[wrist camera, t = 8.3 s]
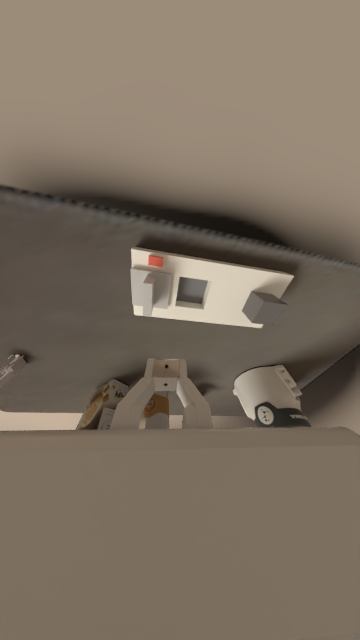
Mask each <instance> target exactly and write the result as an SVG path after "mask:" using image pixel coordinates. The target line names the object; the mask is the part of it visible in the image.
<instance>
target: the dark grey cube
mask: <svg viewBox="0 0 360 640" xmlns="http://www.w3.org/2000/svg"><path fill="white" fill-rule="evenodd" d="M287 305H288V304H286V303H285V302H283V301H282V300H280V299H279V298H277V297H276V296H274V295H273V294H268V293H261V292H254V291H251V293H250V295H249V297H248V299H247V301H246V303H245V305H244V307H243V309H242V312H243V313H244V314H245V315H246V317H247V318H248V319H249V320H250V321H251V323H255V324H265V325H274V324H275V323H276V321H277V320H278V318H279V317H280V316H281V314H282V313H283V311H284V310H285V308H286V307H287Z"/></svg>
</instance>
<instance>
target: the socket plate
mask: <svg viewBox="0 0 360 640" xmlns="http://www.w3.org/2000/svg"><path fill="white" fill-rule="evenodd" d="M131 254H132V268H136V269H143V270H150V271H157V272H163V273H170V274H172V277H171V285H170V293H169V301H168V309H163V308H154V307H153V311H152V315H151V316H150V317H160V318H170V319H179V320H189V321H198V322H208V323H217V324H227V325H237V326H246V327H256V328H261V327H262V326H263V324H255V323H251V321H250V320H249V319H248V318H247V317H246V315H245V314H244V313H243V312H242V309H243V307H244V305H245V303H246V301H247V299H248V297H249V295H250V293H251V291H254V292H261V293H268V294H273V295H274V296H276V297H277V298H279V299H280V298H281V296H282V294H283V293H284V291H285V290H286V288H287V287H288V285H289V284H290V282H291V280H292V279H293V277H294V276H293V275H291V274H288V273H286V272H281V271H276V270H270V269H264V268H258V267H252V266H246V265H240V264H234V263H228V262H222V261H216V260H210V259H204V258H198V257H192V256H186V255H180V254H174V253H168V252H163V251H157V250H151V249H145V248H139V247H134V248H132V249H131ZM207 281H208V282H207ZM206 285H207V286H206ZM205 288H206V289H205ZM204 292H205V293H204ZM202 299H203V300H202ZM134 315H141V316H143V306H136V305H134Z"/></svg>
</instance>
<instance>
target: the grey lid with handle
mask: <svg viewBox="0 0 360 640" xmlns="http://www.w3.org/2000/svg"><path fill="white" fill-rule="evenodd" d="M171 277H172V274H170V273H163V272H157V271H150V270H143V269H136V268H131V286H132V305H136V306H143V316H151V315H152V311H153V307H154V308H163V309H168V301H169V293H170V285H171Z"/></svg>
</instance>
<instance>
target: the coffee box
mask: <svg viewBox="0 0 360 640" xmlns="http://www.w3.org/2000/svg"><path fill="white" fill-rule="evenodd" d="M128 389H129V386H127V385H125V384H123V383H121V382H119V381H117V380H115V379H112V380H110V381H109V382H107V383H105V384H103V385H101V386H99V387H97V388H96V389H95V390H94V392H93V395H92V397H91V399H90V401H89V403H88V405H87V407H86V409H85V411H84V413H83V415H82V417H81V419H80V421H79V424H78V425H77V428H76V430H109V428H110V425H111V422H112V419H113V416H114V413H115V410H116V407H117V404H118V403H119V402H120V401H121V400H122V399H123V398H124V397H125V396H126V395H127V392H128Z"/></svg>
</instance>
